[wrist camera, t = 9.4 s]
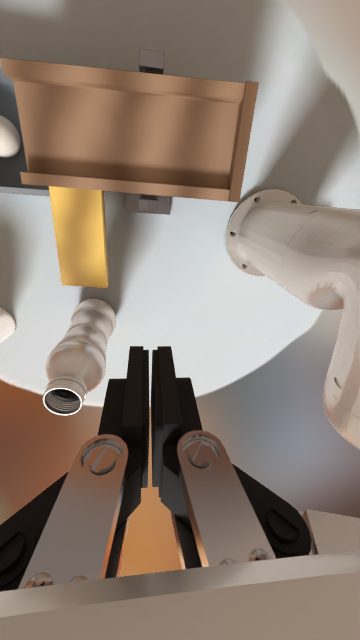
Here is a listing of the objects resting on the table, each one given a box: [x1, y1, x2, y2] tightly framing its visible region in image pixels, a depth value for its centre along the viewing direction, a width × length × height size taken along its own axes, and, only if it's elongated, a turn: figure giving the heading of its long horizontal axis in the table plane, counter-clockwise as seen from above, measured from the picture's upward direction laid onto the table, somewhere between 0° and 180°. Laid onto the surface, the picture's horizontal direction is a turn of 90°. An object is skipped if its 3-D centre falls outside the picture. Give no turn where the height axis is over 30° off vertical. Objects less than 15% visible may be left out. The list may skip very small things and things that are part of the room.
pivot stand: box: [126, 49, 171, 215], centre depth 28 cm, size 6×14×11 cm, turn 175°
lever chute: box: [0, 58, 259, 288], centre depth 28 cm, size 21×19×6 cm
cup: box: [0, 61, 50, 196], centre depth 26 cm, size 11×11×12 cm
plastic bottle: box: [43, 299, 116, 415], centre depth 34 cm, size 6×7×20 cm
